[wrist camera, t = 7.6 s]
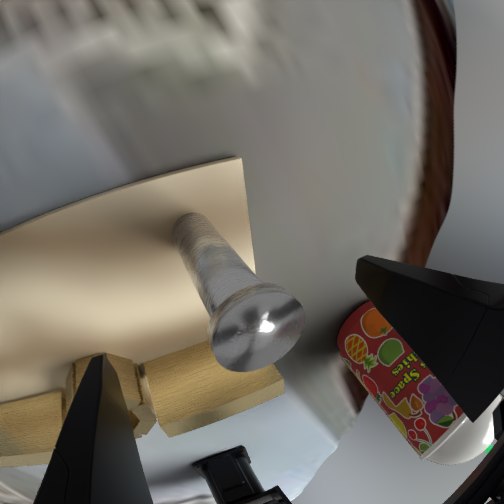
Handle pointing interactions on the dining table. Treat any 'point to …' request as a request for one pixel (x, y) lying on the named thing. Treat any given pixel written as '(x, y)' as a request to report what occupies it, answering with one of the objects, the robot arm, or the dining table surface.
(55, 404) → the loose leaf
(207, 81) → the dining table surface
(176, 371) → the hinge base
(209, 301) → the pin
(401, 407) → the smoothie
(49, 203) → the dining table surface
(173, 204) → the mount board
